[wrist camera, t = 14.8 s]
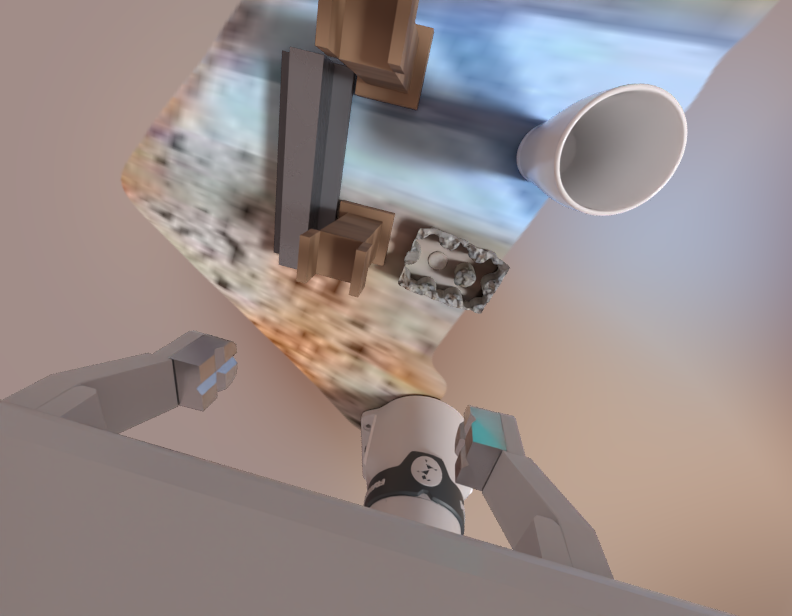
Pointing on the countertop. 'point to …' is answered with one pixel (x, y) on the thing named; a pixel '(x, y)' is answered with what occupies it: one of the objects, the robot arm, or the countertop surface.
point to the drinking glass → (607, 149)
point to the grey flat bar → (334, 146)
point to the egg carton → (462, 273)
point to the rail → (304, 148)
